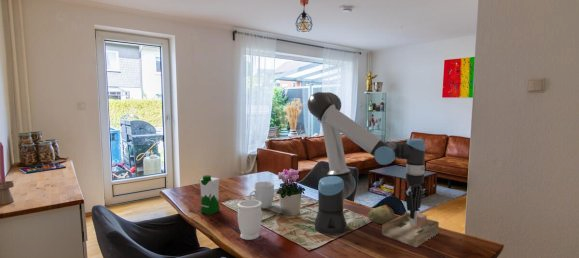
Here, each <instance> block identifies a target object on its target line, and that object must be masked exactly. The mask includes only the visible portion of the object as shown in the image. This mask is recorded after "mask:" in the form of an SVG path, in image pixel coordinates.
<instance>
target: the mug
mask: <svg viewBox="0 0 579 258" xmlns="http://www.w3.org/2000/svg"><path fill="white" fill-rule="evenodd" d="M253 193H254V198H255V199H254V200H258V201H260V202H261V203H262V205H261V209H268V208H270V207H271V206H272V204H273V202H274V197H275V183H274V182H271V181H257V182H255V183H254V189H253V190H252V189H251V191H250V192H249V193H248V200H252V198H251V197H252V194H253Z"/></svg>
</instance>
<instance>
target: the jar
mask: <svg viewBox="0 0 579 258" xmlns="http://www.w3.org/2000/svg"><path fill="white" fill-rule="evenodd" d="M261 205H262V203H261V202H260V201H258V200H255V199H251V200H249V199H245V200H240V201H239V202H237V205H236V206H237V208H238V210H237V223H238V229H239V231H240V238H241V239H243V240H246V241H247V240H248V241H249V240H250V241H251V240H255V239H258V238H259V237H260V234H261V233H260V230H261V227H262V220H263V213H262V212H263V211H262V208H261Z"/></svg>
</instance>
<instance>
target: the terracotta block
mask: <svg viewBox="0 0 579 258" xmlns="http://www.w3.org/2000/svg"><path fill="white" fill-rule="evenodd" d="M426 219H428V218H427V214H423V213H420V212H417V226H414V227H417V228H420V229H421V228H423V227H425V226H426ZM411 226H413V225H411Z"/></svg>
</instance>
